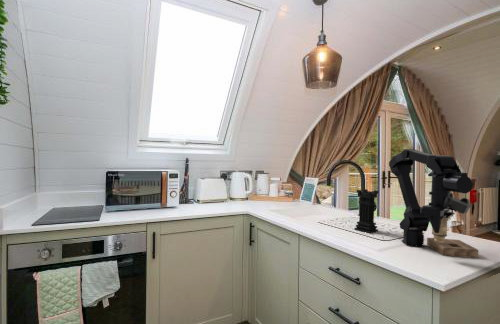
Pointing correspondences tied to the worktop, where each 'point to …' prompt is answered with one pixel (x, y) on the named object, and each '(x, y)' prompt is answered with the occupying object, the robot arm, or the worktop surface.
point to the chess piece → (366, 211)
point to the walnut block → (453, 248)
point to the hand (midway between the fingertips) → (439, 231)
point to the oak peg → (441, 231)
